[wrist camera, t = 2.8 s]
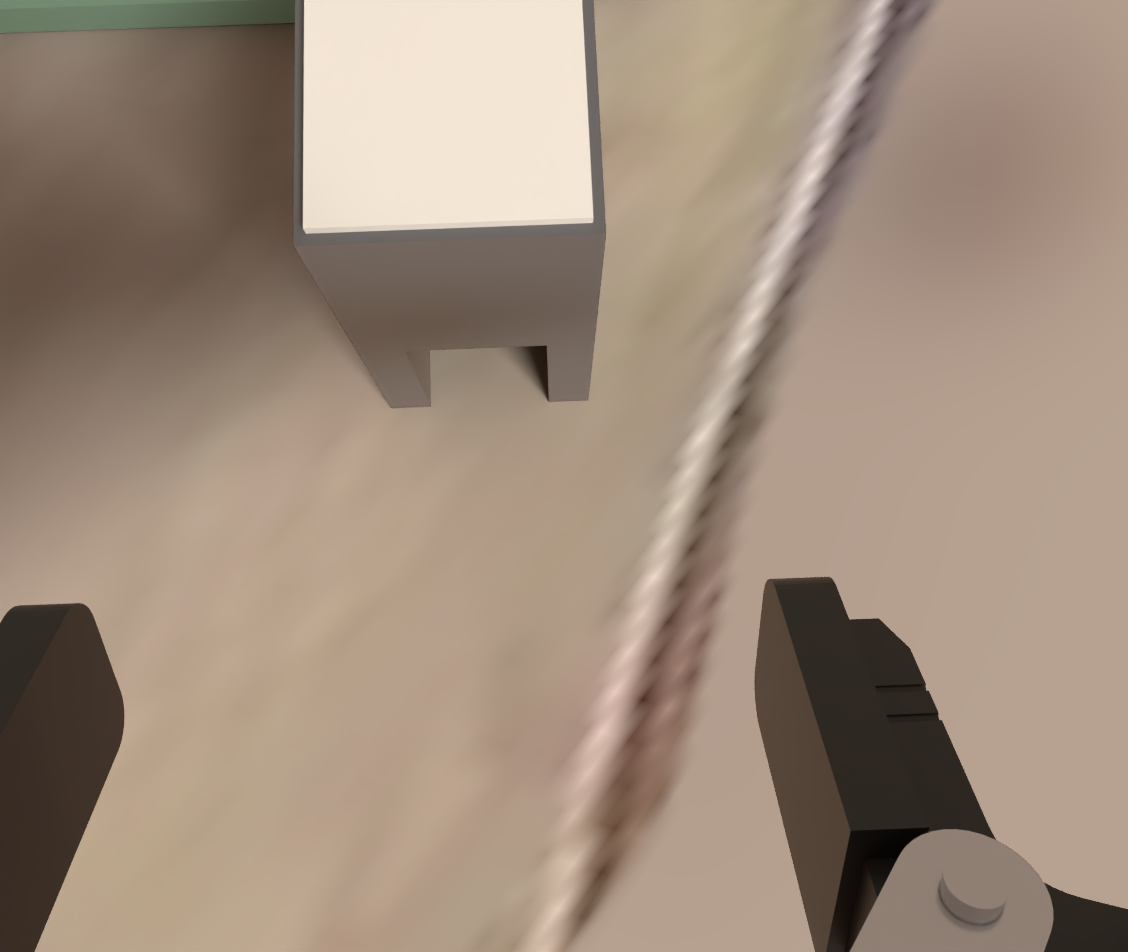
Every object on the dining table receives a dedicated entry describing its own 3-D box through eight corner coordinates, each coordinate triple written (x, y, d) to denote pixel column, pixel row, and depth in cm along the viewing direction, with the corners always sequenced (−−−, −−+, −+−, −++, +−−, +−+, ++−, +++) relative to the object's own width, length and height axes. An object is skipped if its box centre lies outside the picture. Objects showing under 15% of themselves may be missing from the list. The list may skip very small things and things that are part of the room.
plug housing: (391, 408, 26) (290, 240, 16) (389, 188, 28) (293, -92, 18) (588, 400, 27) (606, 229, 17) (577, 181, 28) (588, -102, 18)
